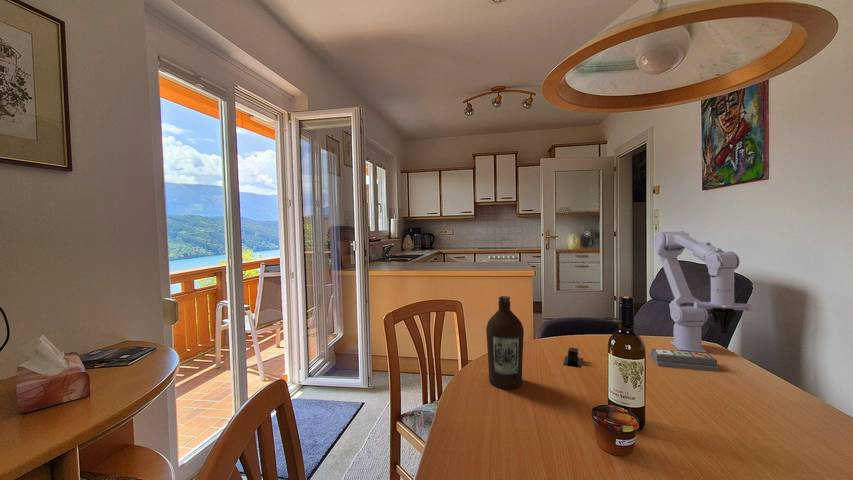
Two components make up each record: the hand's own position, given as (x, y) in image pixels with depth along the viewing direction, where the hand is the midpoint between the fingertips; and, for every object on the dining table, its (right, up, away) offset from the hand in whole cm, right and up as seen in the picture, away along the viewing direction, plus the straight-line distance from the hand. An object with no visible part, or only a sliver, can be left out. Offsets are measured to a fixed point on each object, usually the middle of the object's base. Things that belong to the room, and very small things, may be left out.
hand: (722, 332), depth 109 cm
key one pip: (-16, -9, +3) cm, 19 cm away
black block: (-45, -12, +5) cm, 47 cm away
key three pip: (-7, -9, 0) cm, 12 cm away
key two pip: (-12, -9, +1) cm, 15 cm away
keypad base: (-12, -11, +1) cm, 16 cm away
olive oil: (-72, -12, -9) cm, 73 cm away
